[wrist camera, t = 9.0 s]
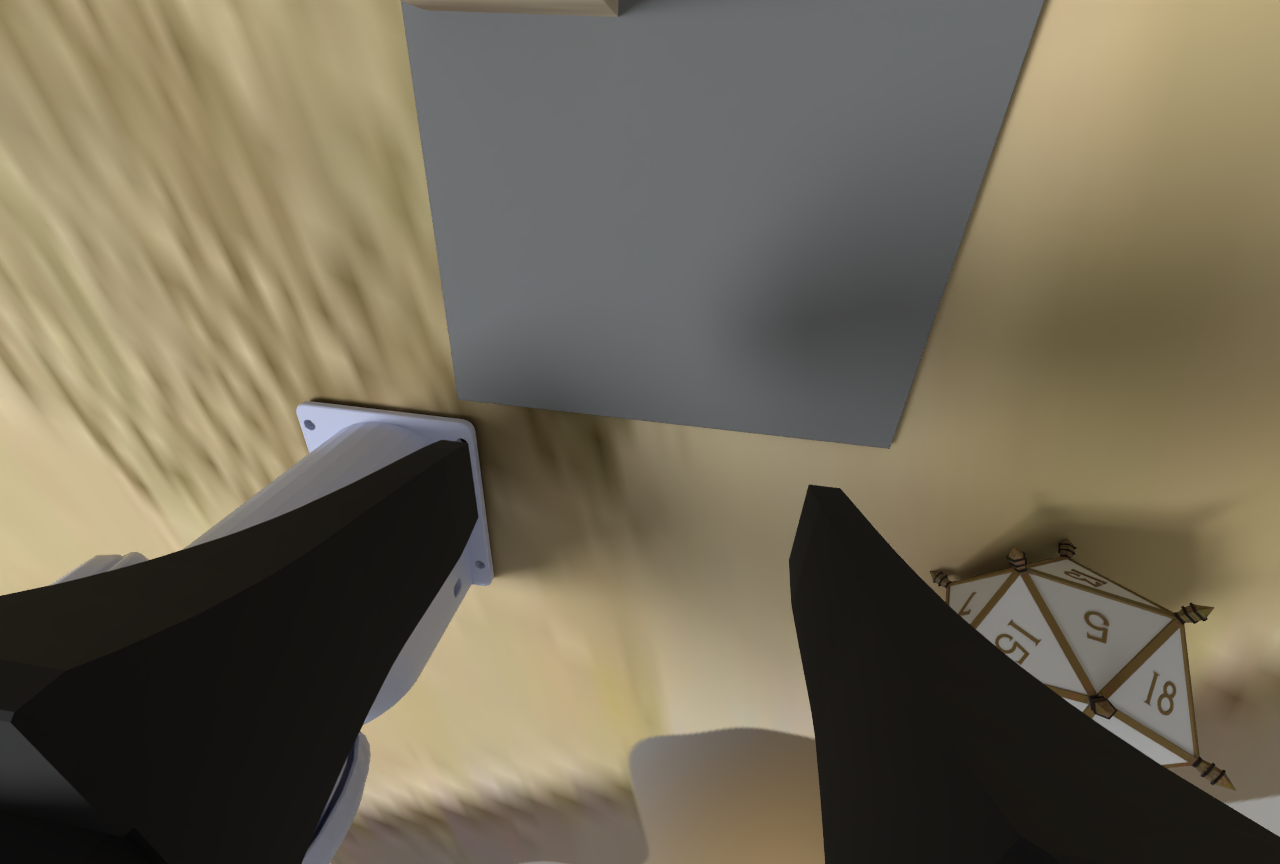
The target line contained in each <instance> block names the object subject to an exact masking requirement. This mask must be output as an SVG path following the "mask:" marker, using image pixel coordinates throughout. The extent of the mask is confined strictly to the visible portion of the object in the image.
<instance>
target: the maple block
mask: <svg viewBox="0 0 1280 864" xmlns="http://www.w3.org/2000/svg"><path fill="white" fill-rule="evenodd" d="M401 1H404V2H406V3H408V4H411V5H413V6H416V7H418V8H421V9H423V10H429V11H458V12H487V13H516V14H545V15H574V16H603V17H618V0H401Z"/></svg>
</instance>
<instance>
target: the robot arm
mask: <svg viewBox="0 0 1280 864" xmlns="http://www.w3.org/2000/svg"><path fill="white" fill-rule="evenodd" d="M296 412H297V416H298V419H299V422H300V425H301V428H302V431H303V434H304V437H305V441H306V444H307V447H308V450H309V454H308V455H307V456H305V457H304V458H303V459H302V460H300V461H299V462H298V463H296V464H295V465H294V466H292V467H291V468H290V469H288V470H287V471H286V472H284V473H283V474H282V475H280V476H279V477H278V478H277V479H275V480H274V481H273V482H271V483H270V484H269V485H267V486H266V487H265V488H263V489H262V490H261V491H259V492H258V493H257V494H256V495H254V496H253V497H252V498H250V499H249V500H248V501H246V502H245V503H244V504H242V505H241V506H240V507H238V508H237V509H236V510H234V511H233V512H232V513H231V514H229V515H228V516H227V517H225V518H224V519H223V520H221V521H220V522H219V523H217V524H216V525H215V526H213V527H212V528H211V529H209V530H208V531H207V532H206V533H204V534H203V535H202V536H200V537H199V538H198V539H196V540H195V541H194V542H192V543H191V544H190V545H188V546H187V547H186V548H185V549H183V550H181V551H178V552H174V553H171V554H168V555H165V556H162V557H158V558H155V559H152V560H148V559H147V558H146V557H145V556H143V555H142V554H141V553H138V552H131V553H129V554H127V555H124V556H123V557H122V556H121V555H97V556H95V557H93V558H91V559H90V560H88V561H87V562H85V563H84V564H82V565H80V566H79V567H77V568H76V569H74V570H73V571H71V572H70V573H68V574H66V575H65V576H63V577H62V578H60V579H59V580H57V581H56V582H54V583H53V584H51V585H50V586H45V587H41V588H36V589H31V590H26V591H22V592H17V593H12V594H7V595H2V596H0V864H329V863H330V861H331V860H332V858H333V857H334V855H335V853H336V852H337V850H338V848H339V847H340V845H341V843H342V841H343V840H344V838H345V836H346V834H347V832H348V830H349V828H350V826H351V824H352V822H353V819H354V817H355V815H356V812H357V810H358V807H359V804H360V801H361V798H362V795H363V791H364V786H365V782H366V778H367V774H368V771H369V763H370V745H369V743H368V740H367V738H366V736H365V735H364V734H362V733H361V732H360V730H361V728H362V726H363V725H364V724H366V723H368V722H370V721H372V720H373V719H375V718H377V717H378V716H380V715H381V714H383V713H384V712H386V711H387V710H388V709H390V708H391V707H392V706H394V705H395V704H396V703H397V702H398V701H399V700H400V699H401V698H402V697H403V696H404V695H405V694H406V693H407V692H408V691H409V690H410V689H411V687H412V686H413V685H414V683H415V682H416V681H417V679H418V677H419V676H420V674H421V672H422V670H423V669H424V667H425V665H426V663H427V662H428V660H429V658H430V656H431V655H432V653H433V651H434V649H435V648H436V646H437V644H438V642H439V641H440V639H441V637H442V635H443V633H444V632H445V630H446V628H447V626H448V625H449V623H450V621H451V619H452V618H453V616H454V614H455V612H456V611H457V609H458V607H459V605H460V604H461V602H462V600H463V598H464V597H465V595H466V593H467V591H468V590H469V588H470V586H471V584H475V585H481V586H487V585H490V584H491V582H492V580H493V578H494V572H493V564H492V557H491V549H490V541H489V533H488V526H487V518H486V510H485V502H484V494H483V487H482V479H481V471H480V463H479V456H478V448H477V440H476V432H475V428H474V426H473V425H472V424H471V423H470V422H469V421H467V420H464V419H457V418H448V417H440V416H431V415H423V414H414V413H406V412H397V411H389V410H380V409H372V408H363V407H355V406H346V405H338V404H329V403H321V402H312V401H305V402H303V403H302V404H300V405H299V406H297V409H296ZM311 421H312V422H313V423H314V424H315V425H314V424H313V423H312V422H311ZM460 438H462V439H464V440H466V441H467V443H465V442H462V441H461V439H460ZM480 561H481V562H480ZM482 562H483V563H482ZM789 569H790V589H791V604H792V610H793V616H794V621H795V627H796V632H797V638H798V643H799V649H800V654H801V659H802V664H803V670H804V675H805V680H806V685H807V691H808V696H809V701H810V707H811V712H812V719H813V726H814V732H815V740H816V752H817V762H818V773H819V785H820V797H821V811H822V824H823V838H824V852H825V864H1280V837H1279V836H1277V835H1275V834H1274V833H1272V832H1270V831H1269V830H1267V829H1265V828H1264V827H1262V826H1261V825H1259V824H1257V823H1256V822H1254V821H1252V820H1251V819H1249V818H1247V817H1246V816H1244V815H1242V814H1241V813H1239V812H1237V811H1236V810H1234V809H1232V808H1231V807H1229V806H1228V805H1226V804H1224V803H1223V802H1221V801H1219V800H1218V799H1216V798H1214V797H1213V796H1211V795H1209V794H1208V793H1206V792H1204V791H1203V790H1201V789H1199V788H1198V787H1196V786H1194V785H1193V784H1191V783H1189V782H1188V781H1186V780H1184V779H1183V778H1181V777H1180V776H1178V775H1176V774H1175V773H1173V772H1171V771H1170V770H1168V769H1167V768H1165V767H1164V766H1162V765H1160V764H1159V763H1157V762H1156V761H1154V760H1153V759H1151V758H1150V757H1148V756H1147V755H1145V754H1144V753H1142V752H1141V751H1139V750H1138V749H1136V748H1135V747H1133V746H1132V745H1130V744H1129V743H1127V742H1126V741H1124V740H1123V739H1121V738H1120V737H1118V736H1117V735H1115V734H1114V733H1112V732H1111V731H1109V730H1108V729H1106V728H1105V727H1103V726H1102V725H1100V724H1099V723H1097V722H1096V721H1095V720H1093V719H1092V718H1090V717H1089V716H1087V715H1086V714H1085V713H1083V712H1082V711H1080V710H1079V709H1077V708H1076V707H1075V706H1073V705H1072V704H1070V703H1069V702H1068V701H1066V700H1065V699H1063V698H1062V697H1061V696H1059V695H1058V694H1057V693H1055V692H1054V691H1053V690H1051V689H1050V688H1049V687H1047V686H1046V685H1045V684H1043V683H1042V682H1041V681H1039V680H1038V679H1037V678H1035V677H1034V676H1033V675H1031V674H1030V673H1029V672H1027V671H1026V670H1025V669H1023V668H1022V667H1021V666H1020V665H1018V664H1017V663H1016V662H1015V661H1013V660H1012V659H1011V658H1010V657H1008V656H1007V655H1006V654H1005V653H1003V652H1002V651H1001V650H1000V649H998V648H997V647H996V646H995V645H994V644H992V643H991V642H990V641H989V640H988V639H987V638H985V637H984V636H983V635H982V634H981V633H980V632H978V631H977V630H976V629H975V628H974V627H973V626H971V625H970V624H969V623H968V622H967V621H966V620H964V619H963V618H962V617H961V616H960V615H959V614H958V613H957V612H956V611H954V610H953V609H952V608H951V607H950V606H949V605H948V604H947V603H946V602H945V601H944V600H943V599H942V598H941V597H940V596H939V595H938V594H937V593H936V592H934V591H933V590H932V589H931V588H930V587H929V586H928V585H927V584H926V583H925V582H924V581H923V580H922V579H921V578H920V577H919V576H918V575H917V574H916V573H915V572H914V571H913V570H912V569H911V568H910V566H909V565H908V564H907V563H906V562H905V561H904V560H903V559H902V558H901V557H900V556H899V555H898V554H897V553H896V552H895V550H894V549H893V548H892V547H891V546H890V545H889V544H888V543H887V542H886V541H885V539H884V538H883V537H882V536H881V535H880V534H879V533H878V532H877V530H876V529H875V528H874V527H873V526H872V525H871V523H870V522H869V521H868V520H867V519H866V518H865V517H864V515H863V514H862V513H861V512H860V511H859V510H858V508H857V507H856V506H855V505H854V504H853V503H852V501H851V500H850V499H849V498H848V497H847V496H846V494H845V493H844V492H843V491H842V490H841V489H840V488H832V487H824V486H816V485H809V486H808V490H807V494H806V497H805V501H804V505H803V509H802V513H801V516H800V520H799V524H798V528H797V532H796V536H795V539H794V543H793V547H792V551H791V555H790V558H789Z"/></svg>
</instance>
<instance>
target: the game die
mask: <svg viewBox="0 0 1280 864" xmlns="http://www.w3.org/2000/svg"><path fill="white" fill-rule="evenodd" d="M1074 549H1076V547H1074V546H1073V545H1072V543H1071V542H1070V540H1069V539H1068V538H1067V539H1065V540H1064V541H1063V542H1062V543H1059V551H1058V553H1060V557H1056V558H1052V559H1047V560H1043V561H1038V562H1034V563H1030V564H1027V561H1026V558H1025V553H1024V552H1020V551H1019V550H1017V549H1015V548H1014V547H1013V548H1012V550H1011V552H1010V554H1009V555H1008V556H1006V558H1007V559H1009V560H1010V561H1009V564H1011V565H1012V566H1014V567H1012V568H1008V569H1004V570H1000V571H996V572H991V573H987V574H983V575H979V576H975V577H971V578H967V579H962V580H958V581H954V582H951V581H949V579H948V577H947V576H944V575H943V573H942V572H931V571H930V573H931V575H932V578H933V580H934V581H933V582H934V583H935V582H936V583H937V584H938V586H943V587H945V588H946V589H947V590H946V603H947V604H948V605H949V606H950V607H951V608H952V609H953V610H954V611H956V612H957V613H958V614H959V615H960V616H961V617H962V618H963V619H964V620H966V621H967V622H968V623H969V624H970V625H971V626H973V627H974V628H975V629H976V630H977V631H978V632H980V633H981V634H982V635H983V636H984V637H985V638H987V639H988V640H989V641H990V642H991V643H992V644H994V645H995V646H996V647H997V648H998V649H1000V650H1001V651H1002V652H1003V653H1005V654H1006V655H1007V656H1008V657H1010V658H1011V659H1012V660H1013V661H1015V662H1016V663H1017V664H1018V665H1020V666H1021V667H1022V668H1023V669H1025V670H1026V671H1027V672H1029V673H1030V674H1031V675H1033V676H1034V677H1035V678H1037V679H1038V680H1039V681H1041V682H1042V683H1043V684H1045V685H1046V686H1047V687H1049V688H1050V689H1051V690H1053V691H1054V692H1055V693H1057V694H1058V695H1059V696H1061V697H1062V698H1063V699H1065V700H1066V701H1068V702H1069V703H1070V704H1072V705H1073V706H1075V707H1076V708H1077V709H1079V710H1080V711H1082V712H1083V713H1085V714H1086V715H1087V716H1089V717H1090V718H1092V719H1093V720H1095V721H1096V722H1097V723H1099V724H1100V725H1102V726H1103V727H1105V728H1106V729H1108V730H1109V731H1111V732H1112V733H1114V734H1115V735H1117V736H1118V737H1120V738H1121V739H1123V740H1124V741H1126V742H1127V743H1129V744H1130V745H1132V746H1133V747H1135V748H1136V749H1138V750H1139V751H1141V752H1142V753H1144V754H1145V755H1147V756H1148V757H1150V758H1151V759H1153V760H1154V761H1156V762H1157V763H1159V764H1160V765H1162V766H1164V767H1165V768H1172V767H1181V766H1193V767H1195V768H1196V769H1197V770H1198V771H1199V772H1200V773H1201V774H1202V775H1201V776H1202V777H1205V778H1207V779H1208V780H1209V781H1211V784H1212V785H1214V784H1216V785H1219V786H1223V787H1226V788H1229V789H1232V790H1236V789H1235V788H1234V786H1233V785H1232V783H1231V782H1230V780H1229V778H1228V777H1227V775H1226V774H1225V772H1226V771H1225V770H1223V771H1222V770H1220V769H1219V768H1217V767H1216V766H1215V764H1214V763H1212V764H1211V763H1209V762H1206V761H1204V760H1202V759H1201V758H1200V756H1199V747H1198V739H1197V730H1196V721H1195V713H1194V704H1193V696H1192V687H1191V678H1190V670H1189V661H1188V653H1187V644H1186V635H1185V627H1184V623H1189V622H1193V623H1194V624H1195V623H1197V622H1199V621H1200V620H1202V621H1206V620H1207V616H1208V615H1209V614H1210V612H1211V611H1212V610H1213V609H1214V607H1207V606H1200V605H1194V604H1192V603H1190V606H1188V607H1184V606H1182V609H1181V610H1180V611H1179V612H1177V613H1173V612H1171V611H1169V610H1167V609H1165V608H1164V607H1162V606H1160V605H1158V604H1156V603H1154V602H1152V601H1150V600H1148V599H1146V598H1144V597H1142V596H1141V595H1139V594H1137V593H1135V592H1133V591H1131V590H1129V589H1127V588H1125V587H1123V586H1121V585H1120V584H1118V583H1116V582H1114V581H1112V580H1110V579H1108V578H1106V577H1104V576H1102V575H1100V574H1098V573H1097V572H1095V571H1093V570H1091V569H1089V568H1087V567H1085V566H1083V565H1081V564H1079V563H1077V562H1075V561H1074V560H1072V559H1071V557H1072V555H1075V553H1074Z"/></svg>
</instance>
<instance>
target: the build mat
mask: <svg viewBox="0 0 1280 864" xmlns="http://www.w3.org/2000/svg"><path fill="white" fill-rule="evenodd" d="M1043 2H1044V0H618V17H603V16H574V15H545V14H516V13H487V12H458V11H429V10H423V9H421V8H418V7H416V6H413V5H411V4H408V3H406V2H404V1H401V5H402V12H403V19H404V26H405V33H406V40H407V47H408V54H409V61H410V68H411V75H412V82H413V89H414V96H415V103H416V110H417V117H418V124H419V131H420V138H421V145H422V152H423V159H424V166H425V173H426V180H427V187H428V194H429V201H430V208H431V215H432V221H433V228H434V235H435V242H436V249H437V256H438V263H439V270H440V277H441V284H442V291H443V298H444V305H445V312H446V319H447V326H448V333H449V340H450V347H451V354H452V361H453V368H454V375H455V382H456V389H457V396H458V400H467V401H476V402H484V403H493V404H502V405H511V406H519V407H528V408H537V409H546V410H555V411H563V412H572V413H581V414H590V415H598V416H607V417H616V418H625V419H634V420H642V421H651V422H660V423H669V424H677V425H686V426H695V427H704V428H713V429H721V430H730V431H739V432H748V433H756V434H765V435H774V436H783V437H792V438H800V439H809V440H818V441H827V442H835V443H844V444H853V445H862V446H871V447H879V448H888V449H890V446H891V443H892V440H893V438H894V435H895V432H896V429H897V426H898V423H899V420H900V417H901V414H902V411H903V409H904V406H905V403H906V400H907V397H908V394H909V391H910V388H911V385H912V382H913V380H914V377H915V374H916V371H917V368H918V365H919V362H920V359H921V356H922V353H923V350H924V348H925V345H926V342H927V339H928V336H929V333H930V330H931V327H932V324H933V321H934V319H935V316H936V313H937V310H938V307H939V304H940V301H941V298H942V295H943V292H944V290H945V287H946V284H947V281H948V278H949V275H950V272H951V269H952V266H953V263H954V261H955V258H956V255H957V252H958V249H959V246H960V243H961V240H962V237H963V234H964V232H965V229H966V226H967V223H968V220H969V217H970V214H971V211H972V208H973V205H974V203H975V200H976V197H977V194H978V191H979V188H980V185H981V182H982V179H983V176H984V174H985V171H986V168H987V165H988V162H989V159H990V156H991V153H992V150H993V147H994V144H995V142H996V139H997V136H998V133H999V130H1000V127H1001V124H1002V121H1003V118H1004V115H1005V113H1006V110H1007V107H1008V104H1009V101H1010V98H1011V95H1012V92H1013V89H1014V86H1015V84H1016V81H1017V78H1018V75H1019V72H1020V69H1021V66H1022V63H1023V60H1024V57H1025V55H1026V52H1027V49H1028V46H1029V43H1030V40H1031V37H1032V34H1033V31H1034V28H1035V26H1036V23H1037V20H1038V17H1039V14H1040V11H1041V8H1042V5H1043Z"/></svg>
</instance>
